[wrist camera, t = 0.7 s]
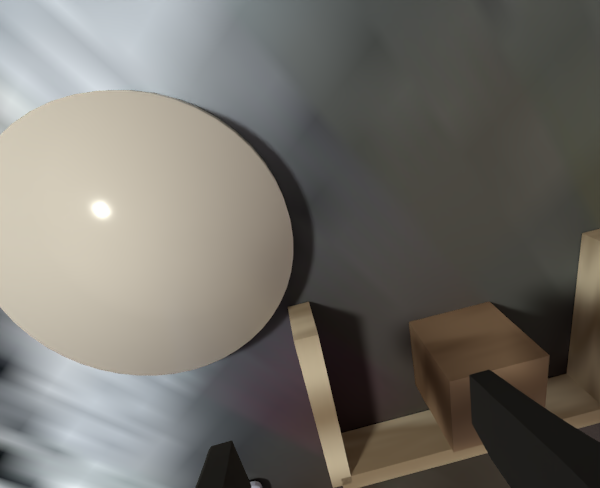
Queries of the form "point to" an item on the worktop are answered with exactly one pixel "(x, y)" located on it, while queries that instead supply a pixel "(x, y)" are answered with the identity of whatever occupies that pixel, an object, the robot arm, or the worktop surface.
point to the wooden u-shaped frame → (422, 426)
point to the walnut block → (472, 364)
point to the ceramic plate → (138, 232)
